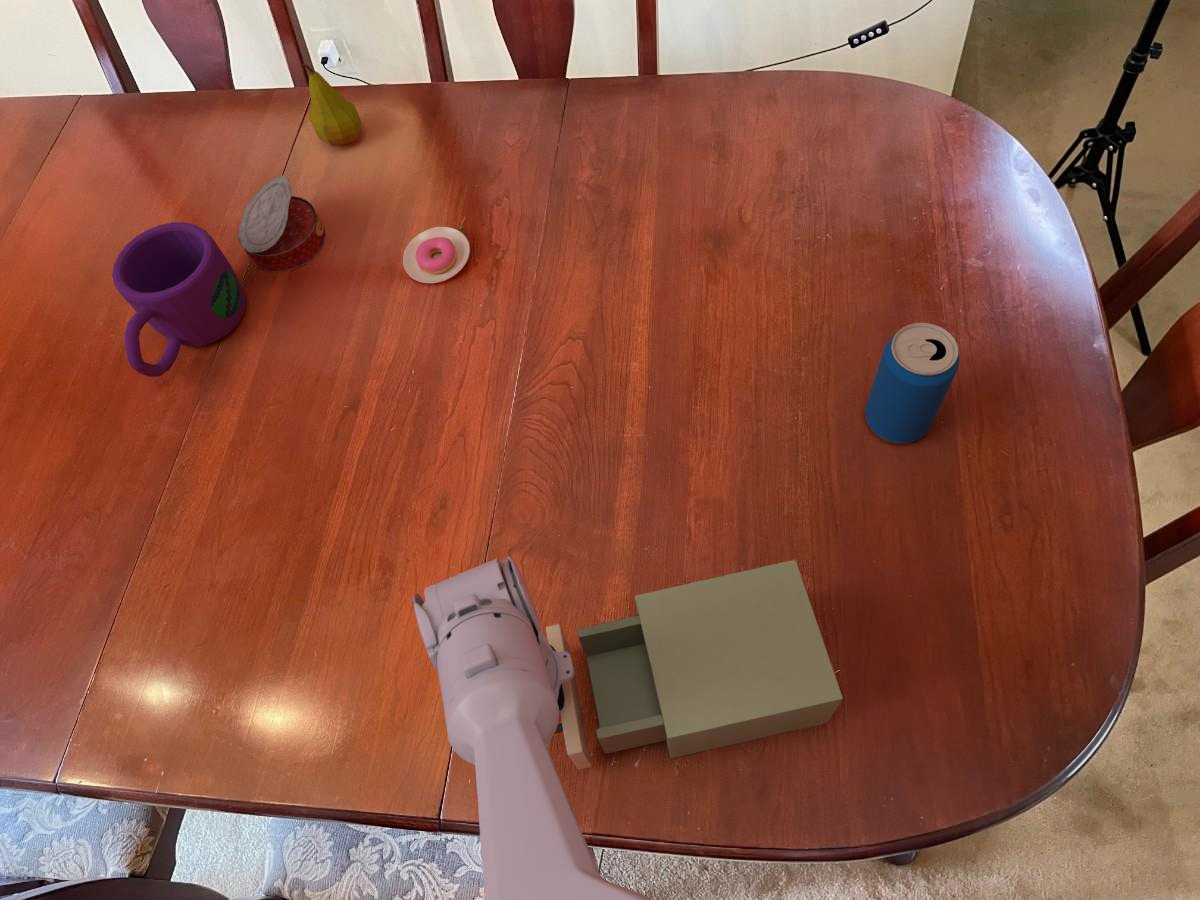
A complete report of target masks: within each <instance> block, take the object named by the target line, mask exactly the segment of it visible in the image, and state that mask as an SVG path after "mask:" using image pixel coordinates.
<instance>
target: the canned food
mask: <svg viewBox="0 0 1200 900" xmlns="http://www.w3.org/2000/svg"><path fill="white" fill-rule="evenodd" d="M326 234H327V233H326V228H325V225H324V224H323V222H322V220H321V218H320V216H319V214H318V212H317V210H316V208H315V206H314V205H313V204H312V203H311V202H310V201H308V200H307V199H305V198H303V197H301V196H295V195H292V188H291V184H290V180H289V178H288V177H286V175H283V174H282V175H279V176H275V177H273V178H272V179H270V181H268V182H266V183H265V184H263V185H262V187H261V188H260V189H259V190H258V191H257V192H256V193H255V194H254V195H253V196H252V198H251V199H250V201H249V203H248V204H247V206H246V207H245V208H244V210H243V214H242V217H241V219H240V221H239V224H238V229H237V239H238V244H240V246H241V247H242V249H243V250H244V252H245V253H246V254H247V256H248V257H249V259H250V261H251V262H252V264H253V265H254V266H255V267H256V268H258V269H260V270H262V271H265V272H270V273H285V272H290V271H293V270H296V269H299V268H301V267H303V266H304V265H306V264H308V263H309V262H310V261H312V260H313V259H314V258H316V256H318V254H319V253H320V252H321V250H322V248H323V246H324V244H325V242H326V236H327V235H326Z"/></svg>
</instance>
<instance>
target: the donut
mask: <svg viewBox="0 0 1200 900" xmlns="http://www.w3.org/2000/svg"><path fill="white" fill-rule="evenodd" d="M465 220H466V216H465V215H464V216H463V219H462V220H461V226H460V227H459V230H458V229H456V228H453V227H450V226H436V227H431V228H428V229H426V230H424V231H423V230H422V231H421V232H419V233H418V234H417V235H416V236H414V237H413V238H412V239H411V240H410V241H409V243H408V244H407V245H406V246H405V250H404V251H403V255H402V266H403V269H404V271H405V273H406V274H407V275H408V277H409V278H411V279H412V280H414V281H417V282H419V283H424V284H438V283H442V282H444V281H447V280H449V279H451V278H453V277H454V276H456V275H458V273H459V272H460V271H462V270H463V269H464V267H465V265H466V264H467V263H468V260H469V257H470V253H471V247H470V242H469V240H468V238H467V237H466V235H465V234H464V233H463V232H462V231H460V230H463V226H464V222H465Z"/></svg>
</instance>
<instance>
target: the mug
mask: <svg viewBox="0 0 1200 900" xmlns="http://www.w3.org/2000/svg"><path fill="white" fill-rule="evenodd" d="M111 273H112V274H111V276H112V281H113V285H114V287H115V289H116V290H117V291H118V293H119V294H120V295H121V297H123V299H124V300H125V301H126V302H127V303H128V304H129V306H131V308H132V309H133V310H134V311H135V312H136V313H134V314H133V315H132V316H131V318H130V320H129V321H128V322H127V324H126V328H125V333H124V347H125V348H124V349H125V353H126V357H127V361H128V363H129V365H130V367H131V368H132V369H133V370H134V371H136V372H137V373H138V374H140V375H143V376H145V377H149V378H153V377H155V378H156V377H162V376H163V375H164V374H166V373H167V372H169V370H171V368H172V367H173V365H174V363H175V362H176V361H177V358H178V356H179V354H180V351H181V346H184V347H200V346H201V347H202V346H205V345H209V344H211V343H214V342H216V341H219V340H220V339H222V338H224V337H225V336H226V335H228V334H230V333H231V331H233V330H234V329H235V328H236V326H237V325H238V324H239V323H240V320H241V319H242V317H243V315H244V313H245V309H246V295H245V292H244V289H243V287H242V284H241V282H240V280H239V277H238V275H237V274H236V272H235V270H234V269H233V267H232V265H231V264H230V262H229V261H228V259H227V257H226V256H225V253H223V251H222V250H221V248H220V247H219V245H218V244H217V243H216V241H215V240H214V238H213V237H212V236H211V235H210V233H208V231H207V230H206V229H203V228H202V227H201V226H198V225H197V224H195V223H189V222H185V221H181V222H180V221H179V222H178V221H176V222H175V221H174V222H168V223H163V224H159V225H157V226H153V227H151V228H149V229H146V230H144V231H143V232H141V233H139V234H138V235H136V236H135V237H133V239H131V240H130V241H129V242H128V243H126V245H124V247H123V248H122V249H121V250H120V252H119V253H118V255H117V257H116V259H115V261H114V263H113V268H112V272H111ZM146 324H148V325H150V327H152V329H154V330H155V331H156V332H157V333H159V334H160V335H162V336H163V337H164V338H165V339H167V344H166V348H165V350H164V352H163V354H162V356H161V358H160V359H159V361H157V363H155V364H153V363H149V362H145V360H144V359H143V355H142V351H141V344H140V336H141V335H140V334H141V331H142V329H143V328H144V326H145V325H146Z"/></svg>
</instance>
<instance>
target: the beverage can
mask: <svg viewBox="0 0 1200 900" xmlns="http://www.w3.org/2000/svg"><path fill="white" fill-rule="evenodd" d="M959 367H960V354H959V346H958V343H957V341H956V339H955V337H954V336H953V335H952V333H950V332H949V331H948V330H946V329H944V328H943V327H942V326H939V325H936V324H933V323H930V322H928V323H927V322H914V323H911V324H907V325H905V326H903V327H901V328H900V329H899V330H898V331H897V332H896V333H895V334H893V335H892V336H891V337H889V340H888V341H887V342H886V345H885V347H884V349H883V353H882V355H881V359H880V361H879V365H878V368H877V370H876V374H875V377H874V379H873V382H872V385H871V389H870V392H869V395H868V397H867V401H866V404H865V408H864V417H865V420H866V423H867V425H868V427H869V428H870V429H871V431H872V432H873V433H874V434H875V435H877V436H878V437H880V438H881V439H883V440H885V441H888V442H891V443H895V444H909V443H913V442H916V441H918V440H920V439H921V438H923V437H925V436H926V435H927V434H928V432H929V431H930V429H931V427H932V426H933V423H934V421H935V418H936V417H937V415H938V412H939V411H940V409H941V407H942V404H943V402H944V400H945V398H946V395H947V393H948V391H949V389H950V387H951V385H952V383H953V380H954V378H955V376H956V374H957V372H958V369H959Z"/></svg>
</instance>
